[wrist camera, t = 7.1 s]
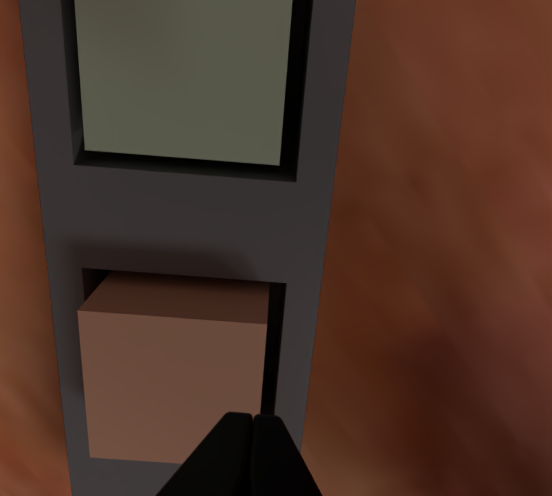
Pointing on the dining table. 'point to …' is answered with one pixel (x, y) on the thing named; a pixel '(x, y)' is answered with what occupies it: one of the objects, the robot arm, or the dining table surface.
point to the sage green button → (184, 77)
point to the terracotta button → (169, 361)
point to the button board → (186, 217)
